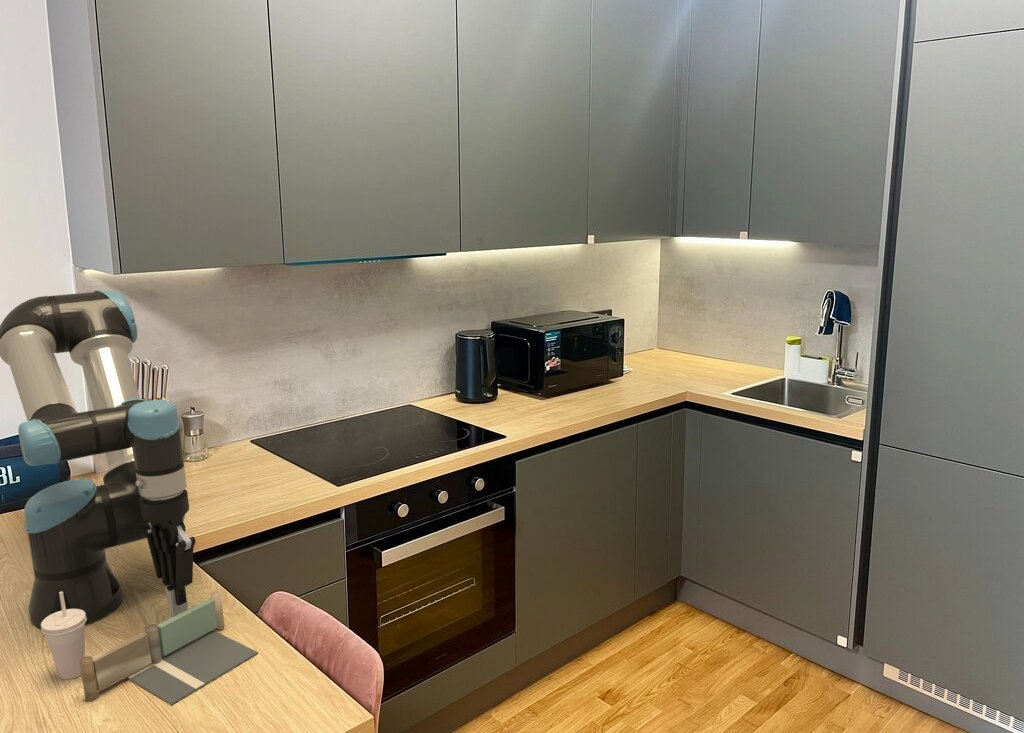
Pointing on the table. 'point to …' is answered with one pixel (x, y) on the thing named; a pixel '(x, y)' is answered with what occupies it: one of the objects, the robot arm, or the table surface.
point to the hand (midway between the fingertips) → (179, 618)
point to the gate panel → (191, 624)
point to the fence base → (120, 661)
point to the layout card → (191, 666)
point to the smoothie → (66, 639)
